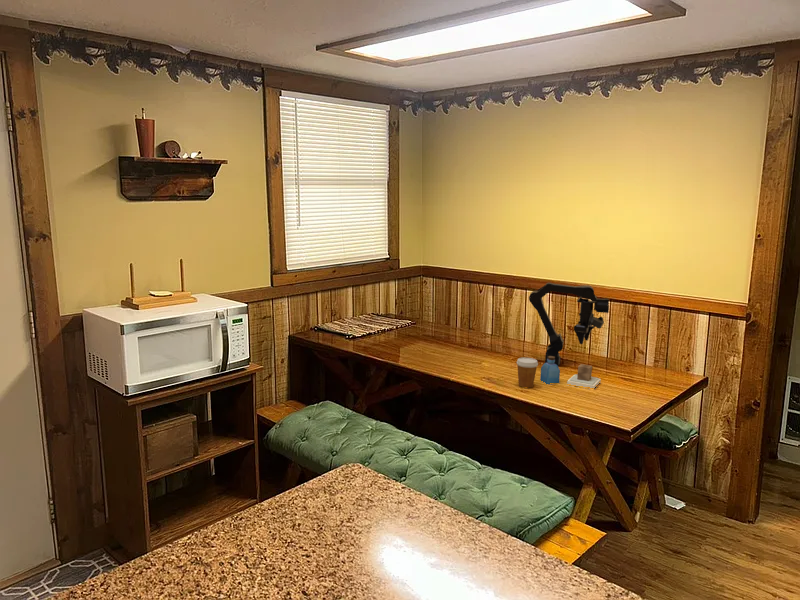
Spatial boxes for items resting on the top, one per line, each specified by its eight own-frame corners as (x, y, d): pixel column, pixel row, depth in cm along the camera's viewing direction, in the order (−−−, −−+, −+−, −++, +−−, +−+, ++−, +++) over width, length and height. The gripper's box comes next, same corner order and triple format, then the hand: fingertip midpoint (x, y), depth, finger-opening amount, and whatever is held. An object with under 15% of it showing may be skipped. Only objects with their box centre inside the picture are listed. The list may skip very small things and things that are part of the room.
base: (566, 385, 280) (567, 379, 280) (574, 378, 290) (574, 373, 290) (593, 390, 274) (594, 384, 273) (600, 383, 284) (600, 377, 283)
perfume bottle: (546, 384, 280) (548, 359, 278) (540, 380, 286) (541, 355, 284) (559, 383, 282) (560, 358, 280) (552, 379, 288) (553, 354, 286)
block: (577, 379, 281) (578, 366, 280) (580, 376, 285) (581, 363, 284) (588, 381, 278) (589, 368, 277) (591, 378, 282) (592, 365, 281)
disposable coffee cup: (521, 381, 284) (523, 356, 282) (540, 385, 278) (542, 360, 276) (511, 386, 277) (512, 360, 275) (530, 390, 271) (532, 364, 269)
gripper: (598, 316, 291) (595, 348, 293) (607, 310, 306) (605, 340, 309) (574, 313, 296) (572, 345, 299) (585, 307, 312) (582, 337, 315)
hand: (583, 342), depth 305 cm, fingers open, 9 cm apart
